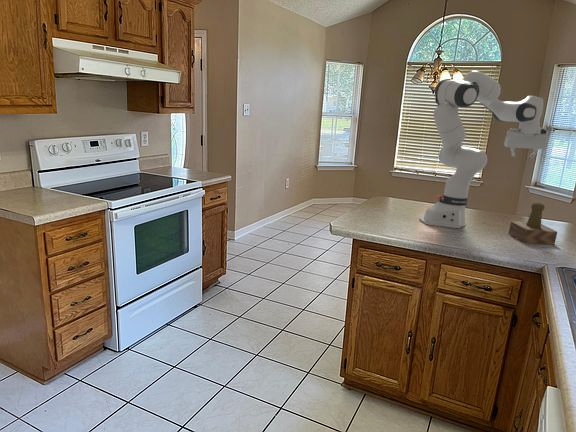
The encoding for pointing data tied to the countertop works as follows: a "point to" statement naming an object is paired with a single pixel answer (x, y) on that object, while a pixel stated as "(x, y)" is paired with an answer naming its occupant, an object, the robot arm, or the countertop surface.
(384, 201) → the countertop surface
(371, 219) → the countertop surface
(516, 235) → the walnut block
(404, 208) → the countertop surface
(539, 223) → the cork
